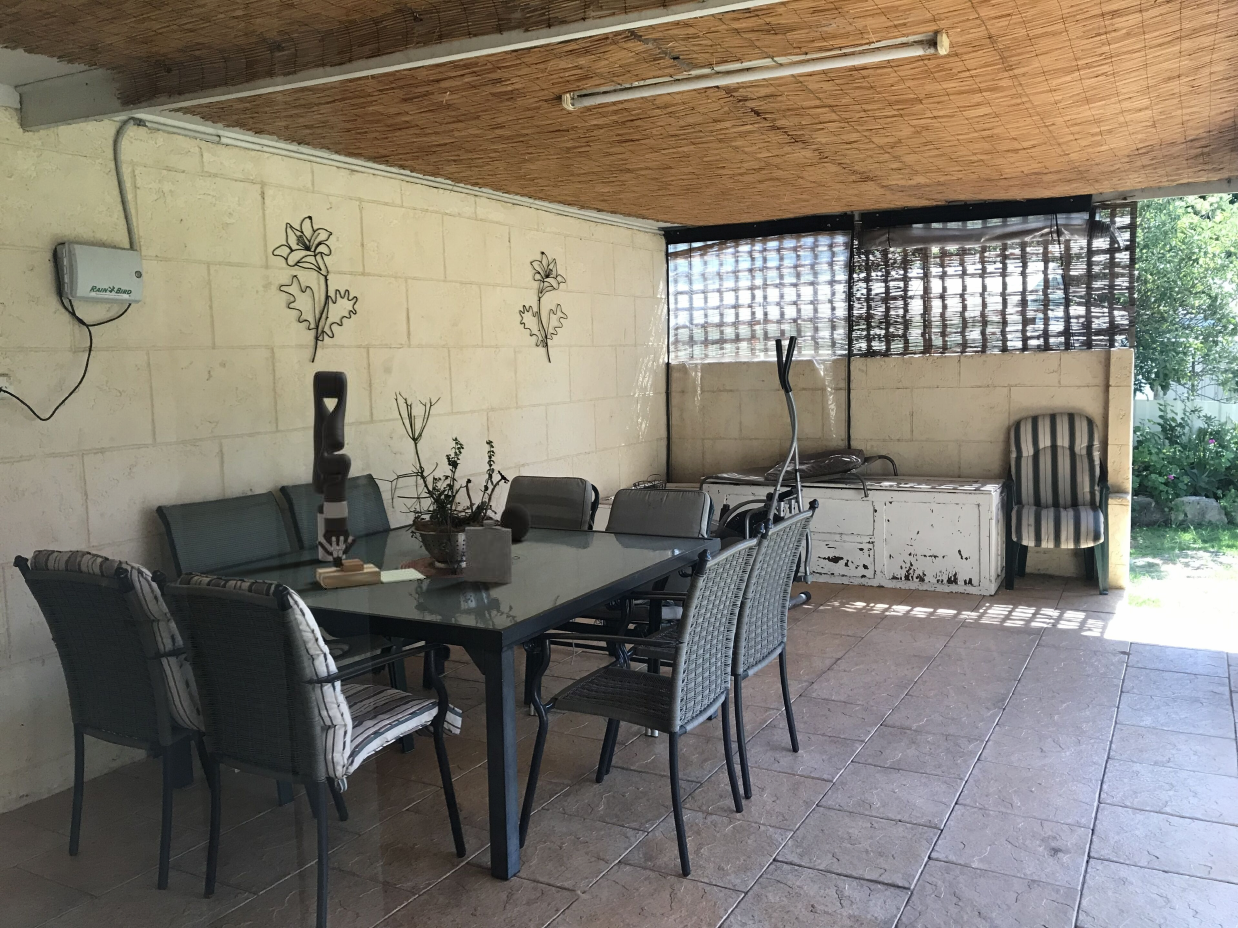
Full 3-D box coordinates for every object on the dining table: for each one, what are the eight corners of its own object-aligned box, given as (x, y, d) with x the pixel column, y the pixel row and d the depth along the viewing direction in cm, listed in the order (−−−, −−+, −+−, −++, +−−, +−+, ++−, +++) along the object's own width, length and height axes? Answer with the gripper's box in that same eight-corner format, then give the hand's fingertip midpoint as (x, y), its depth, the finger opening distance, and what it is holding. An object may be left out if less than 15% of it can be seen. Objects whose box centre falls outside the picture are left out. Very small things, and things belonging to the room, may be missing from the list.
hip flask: (464, 581, 323) (463, 520, 321) (469, 578, 327) (468, 519, 325) (509, 583, 319) (508, 522, 317) (514, 581, 323) (513, 520, 321)
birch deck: (316, 580, 325) (316, 568, 324) (371, 575, 333) (371, 563, 332) (324, 588, 313) (324, 576, 313) (381, 582, 321) (380, 570, 321)
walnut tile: (339, 568, 325) (339, 560, 325) (358, 566, 328) (358, 558, 328) (345, 572, 318) (345, 564, 318) (364, 570, 321) (363, 563, 321)
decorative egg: (496, 539, 400) (495, 502, 398) (524, 536, 405) (524, 500, 403) (505, 544, 389) (505, 506, 387) (535, 541, 394) (534, 504, 392)
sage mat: (371, 574, 334) (371, 572, 334) (412, 570, 341) (412, 568, 341) (383, 583, 320) (383, 581, 320) (425, 578, 327) (425, 577, 327)
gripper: (354, 512, 325) (355, 563, 327) (312, 515, 319) (314, 567, 321) (359, 515, 319) (360, 567, 321) (317, 518, 313) (318, 571, 315)
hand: (337, 567), depth 321 cm, fingers closed
